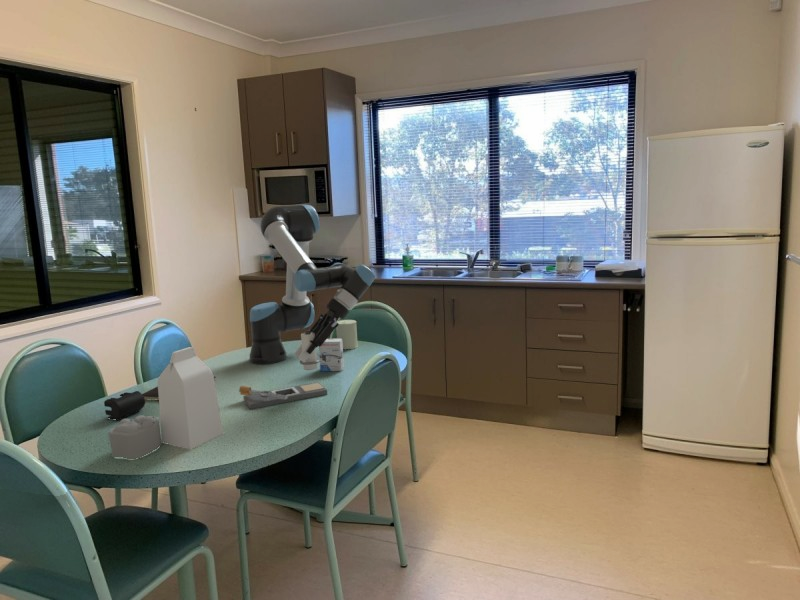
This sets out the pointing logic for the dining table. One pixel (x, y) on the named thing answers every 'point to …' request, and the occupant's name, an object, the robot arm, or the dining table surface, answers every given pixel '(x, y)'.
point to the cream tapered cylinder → (347, 333)
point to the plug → (312, 359)
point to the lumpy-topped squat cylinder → (135, 437)
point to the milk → (188, 401)
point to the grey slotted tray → (296, 391)
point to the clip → (260, 393)
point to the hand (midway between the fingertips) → (298, 358)
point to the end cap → (124, 405)
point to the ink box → (331, 355)
